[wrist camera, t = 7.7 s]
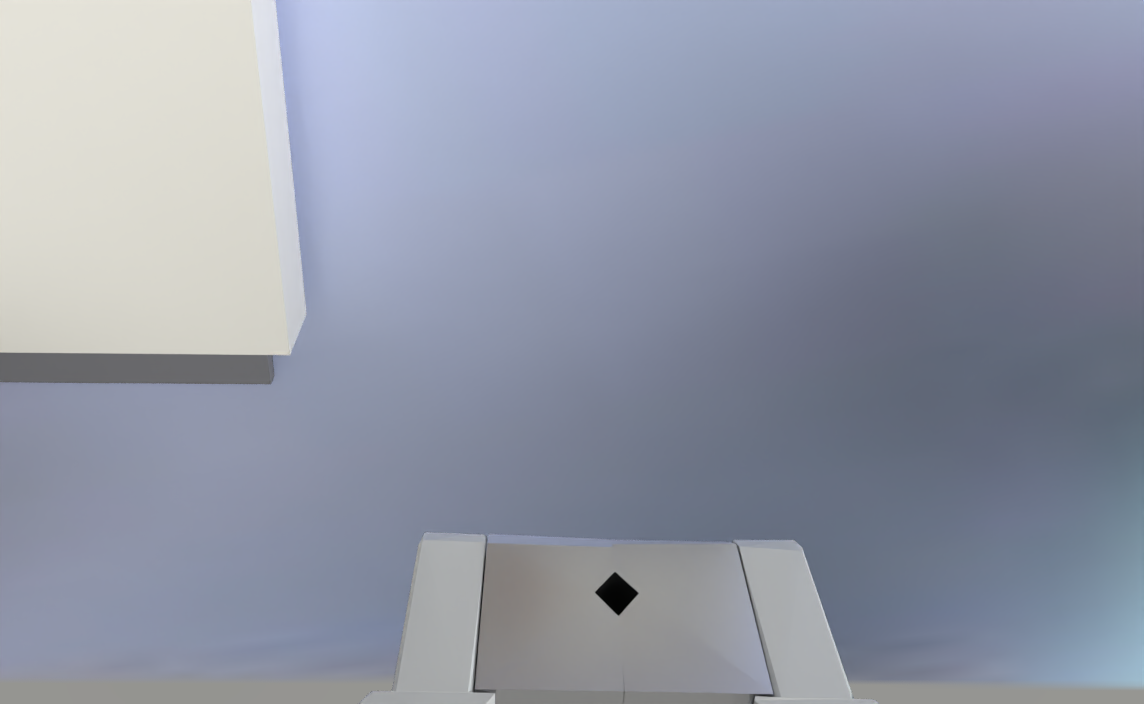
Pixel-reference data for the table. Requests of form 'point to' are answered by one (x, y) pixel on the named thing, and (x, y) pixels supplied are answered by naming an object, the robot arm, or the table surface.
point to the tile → (146, 179)
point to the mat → (136, 368)
